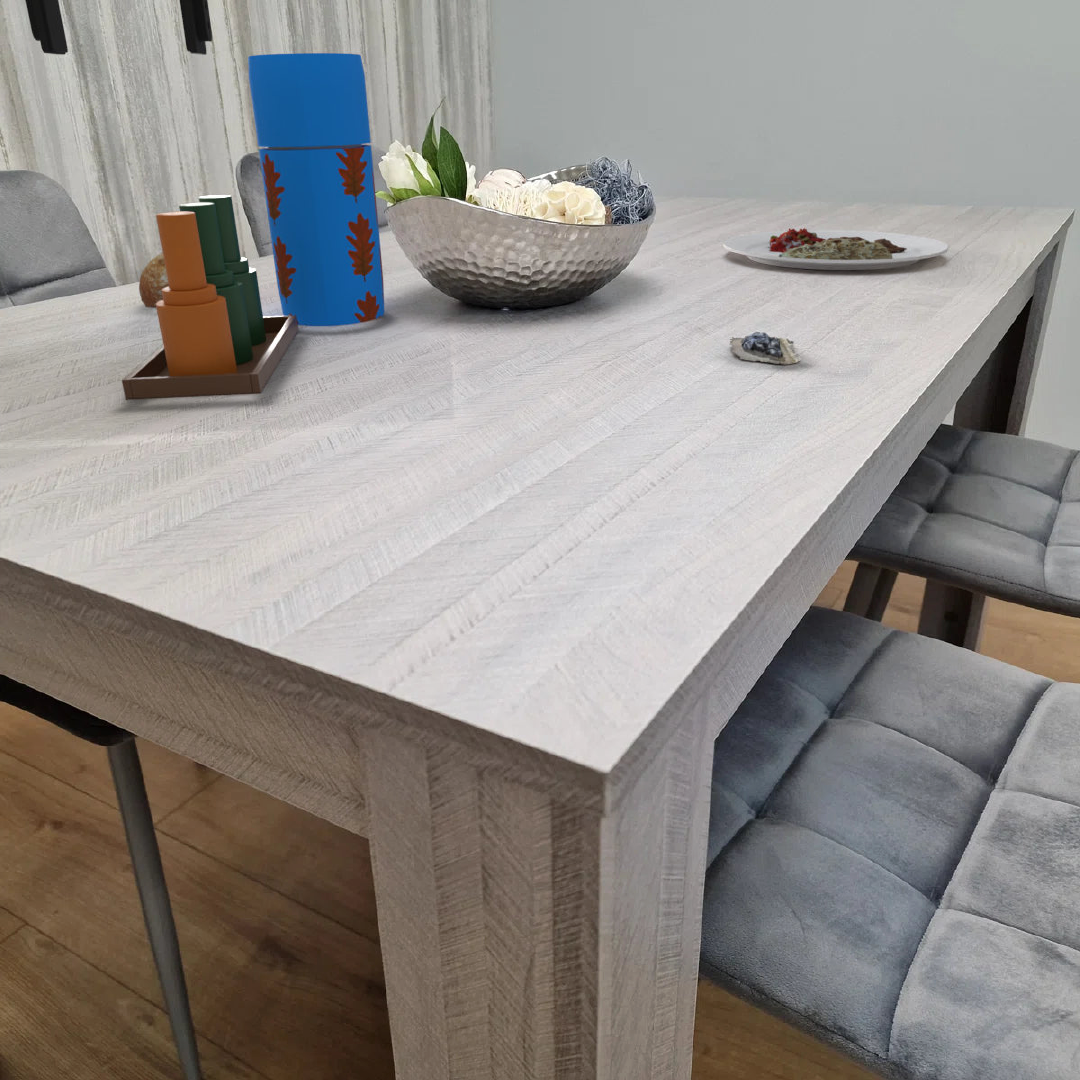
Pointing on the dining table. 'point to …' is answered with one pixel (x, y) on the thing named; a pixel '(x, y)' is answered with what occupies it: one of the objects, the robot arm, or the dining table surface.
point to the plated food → (835, 249)
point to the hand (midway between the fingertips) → (127, 53)
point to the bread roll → (153, 281)
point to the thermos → (319, 185)
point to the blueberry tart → (765, 349)
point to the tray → (248, 380)
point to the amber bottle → (191, 304)
